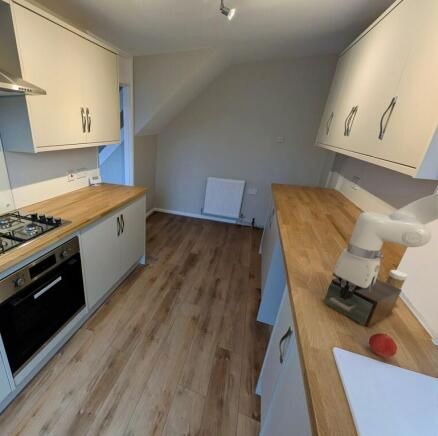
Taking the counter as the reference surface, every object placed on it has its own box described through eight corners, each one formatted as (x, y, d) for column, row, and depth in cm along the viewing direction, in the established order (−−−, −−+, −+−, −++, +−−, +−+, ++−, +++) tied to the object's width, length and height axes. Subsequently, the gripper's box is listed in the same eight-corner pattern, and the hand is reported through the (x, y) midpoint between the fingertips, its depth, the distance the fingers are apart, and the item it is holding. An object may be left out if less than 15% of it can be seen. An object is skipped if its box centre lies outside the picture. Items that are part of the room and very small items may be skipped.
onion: (360, 349, 72) (369, 328, 69) (372, 344, 74) (381, 323, 71) (384, 366, 67) (394, 344, 64) (396, 359, 69) (406, 338, 66)
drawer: (355, 329, 78) (363, 309, 75) (316, 305, 88) (321, 286, 86) (385, 312, 85) (393, 293, 82) (345, 292, 96) (352, 274, 93)
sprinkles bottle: (391, 307, 89) (405, 277, 85) (376, 300, 93) (388, 271, 88) (395, 303, 91) (409, 273, 87) (380, 297, 95) (392, 268, 90)
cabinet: (367, 326, 80) (378, 302, 77) (324, 301, 92) (332, 279, 88) (391, 313, 86) (401, 289, 83) (348, 291, 98) (355, 270, 95)
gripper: (399, 259, 71) (377, 308, 77) (343, 239, 83) (328, 283, 90) (386, 264, 68) (364, 315, 74) (330, 243, 80) (315, 287, 87)
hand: (344, 297), depth 82 cm, fingers closed
